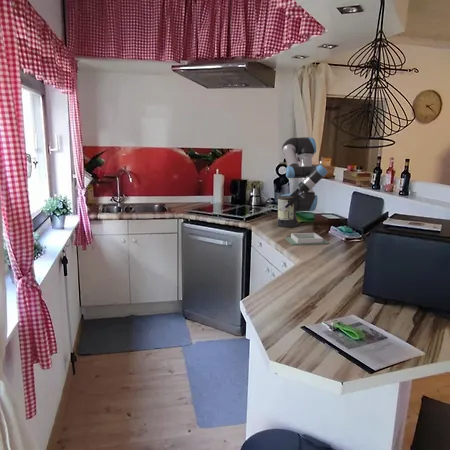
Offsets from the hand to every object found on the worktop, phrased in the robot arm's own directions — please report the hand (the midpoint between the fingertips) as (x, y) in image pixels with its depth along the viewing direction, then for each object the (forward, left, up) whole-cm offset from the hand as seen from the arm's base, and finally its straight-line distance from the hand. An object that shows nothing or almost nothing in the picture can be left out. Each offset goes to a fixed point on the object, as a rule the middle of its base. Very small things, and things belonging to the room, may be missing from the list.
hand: (281, 209), depth 262 cm
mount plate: (+17, +12, -17) cm, 27 cm away
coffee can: (0, +3, -6) cm, 7 cm away
